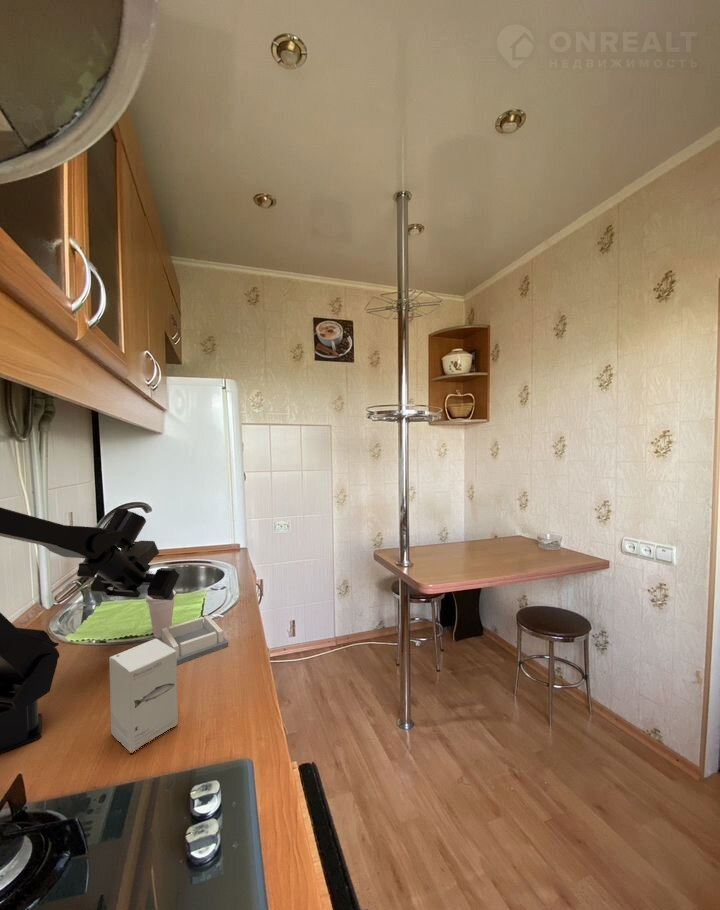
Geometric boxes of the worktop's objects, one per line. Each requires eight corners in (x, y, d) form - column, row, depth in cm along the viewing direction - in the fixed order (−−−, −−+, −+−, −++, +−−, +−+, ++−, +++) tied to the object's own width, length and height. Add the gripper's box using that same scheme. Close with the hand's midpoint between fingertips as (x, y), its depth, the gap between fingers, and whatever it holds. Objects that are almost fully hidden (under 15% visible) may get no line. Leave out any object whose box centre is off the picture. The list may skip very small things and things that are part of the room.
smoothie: (161, 642, 87) (159, 582, 87) (140, 638, 89) (139, 579, 89) (182, 629, 93) (181, 573, 93) (163, 625, 95) (161, 571, 95)
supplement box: (130, 757, 55) (127, 672, 55) (110, 734, 59) (107, 655, 59) (179, 726, 61) (177, 649, 61) (158, 707, 65) (156, 636, 65)
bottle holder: (228, 646, 85) (228, 631, 85) (170, 667, 77) (170, 650, 77) (210, 626, 94) (210, 613, 94) (157, 643, 86) (157, 628, 86)
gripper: (172, 533, 81) (204, 566, 93) (99, 531, 85) (139, 563, 96) (146, 583, 74) (184, 612, 85) (68, 577, 77) (114, 606, 89)
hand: (155, 596), depth 89 cm, fingers open, 9 cm apart
